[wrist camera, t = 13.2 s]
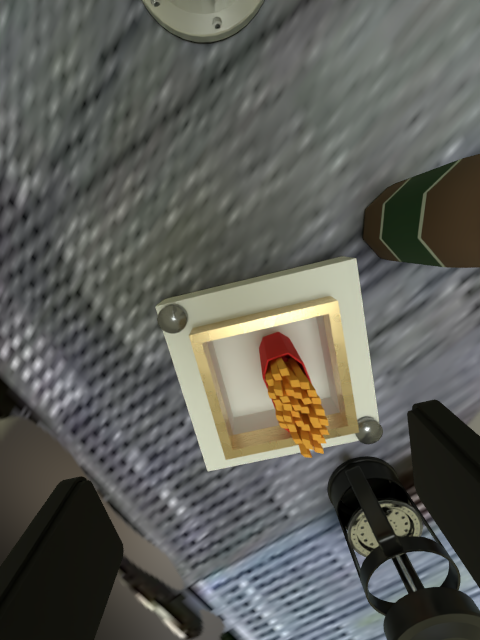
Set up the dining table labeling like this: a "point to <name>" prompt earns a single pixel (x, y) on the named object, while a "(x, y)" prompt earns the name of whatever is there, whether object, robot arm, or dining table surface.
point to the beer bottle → (429, 217)
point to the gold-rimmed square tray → (245, 366)
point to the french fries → (292, 393)
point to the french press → (400, 556)
